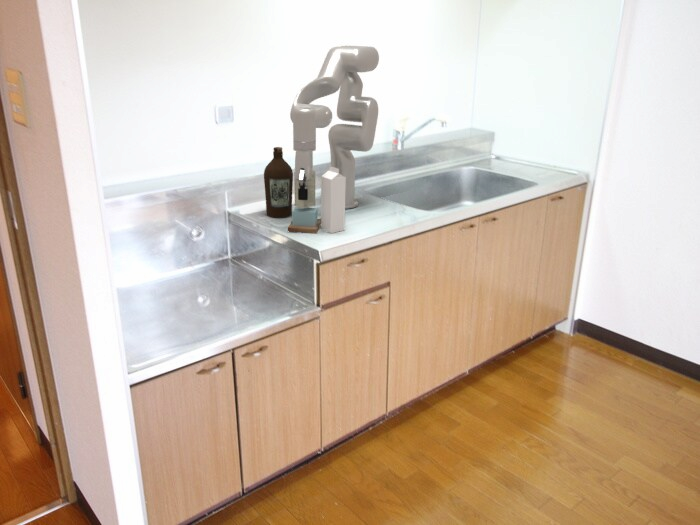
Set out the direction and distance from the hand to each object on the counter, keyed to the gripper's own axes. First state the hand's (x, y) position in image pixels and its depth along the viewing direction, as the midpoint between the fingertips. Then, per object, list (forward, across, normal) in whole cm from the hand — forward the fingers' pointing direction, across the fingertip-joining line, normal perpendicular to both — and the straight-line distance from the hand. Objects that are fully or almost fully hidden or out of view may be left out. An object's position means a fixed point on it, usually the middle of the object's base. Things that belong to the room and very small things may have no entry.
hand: (304, 196), depth 213 cm
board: (+11, 0, 0) cm, 11 cm away
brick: (+10, 0, 0) cm, 10 cm away
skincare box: (+4, 0, 0) cm, 4 cm away
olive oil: (+11, -14, -12) cm, 22 cm away
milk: (+11, +1, +10) cm, 15 cm away
